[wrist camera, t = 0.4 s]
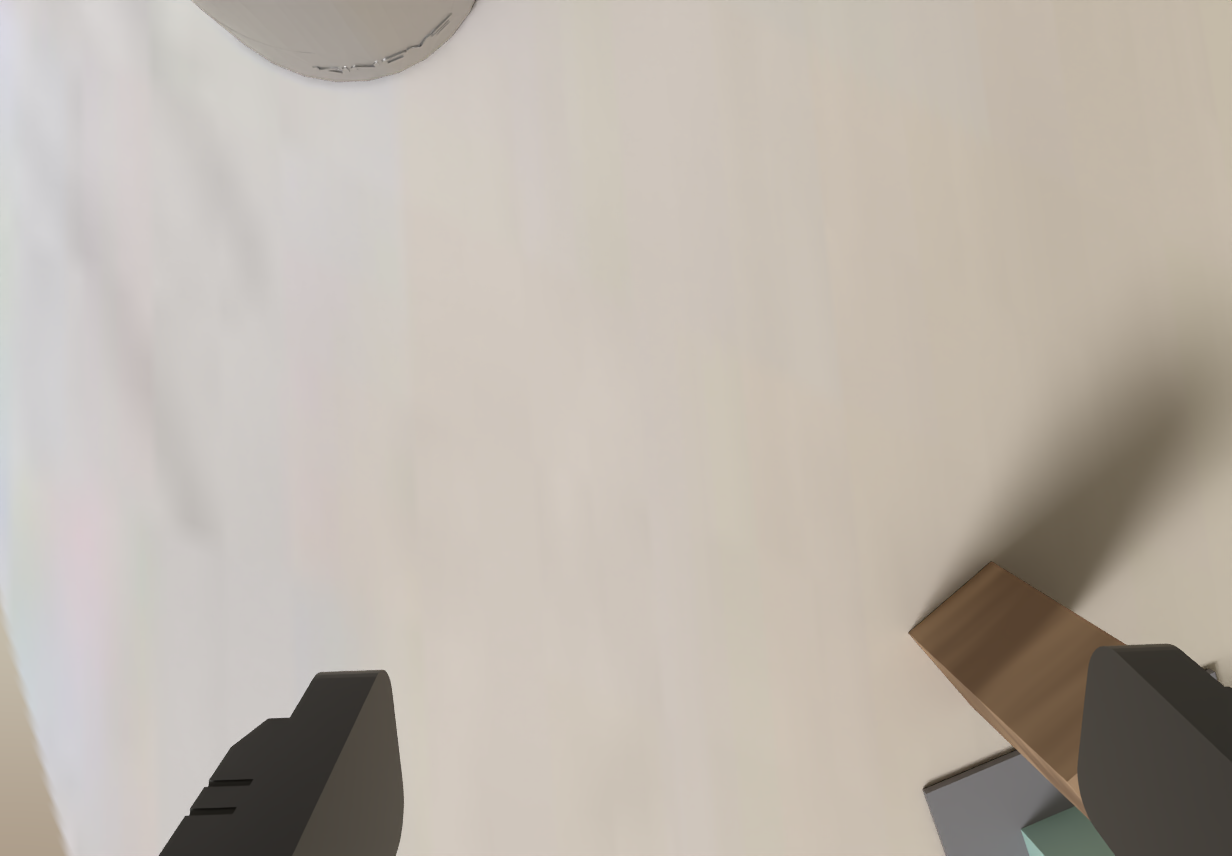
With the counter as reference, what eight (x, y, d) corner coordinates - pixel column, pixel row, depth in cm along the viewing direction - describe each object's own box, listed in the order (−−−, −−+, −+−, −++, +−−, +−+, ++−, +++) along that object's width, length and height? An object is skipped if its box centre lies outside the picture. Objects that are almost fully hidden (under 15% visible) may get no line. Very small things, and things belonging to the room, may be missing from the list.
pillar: (908, 632, 34) (1067, 781, 24) (991, 561, 34) (1185, 681, 24) (971, 706, 35) (1150, 879, 25) (1053, 636, 34) (1265, 782, 25)
